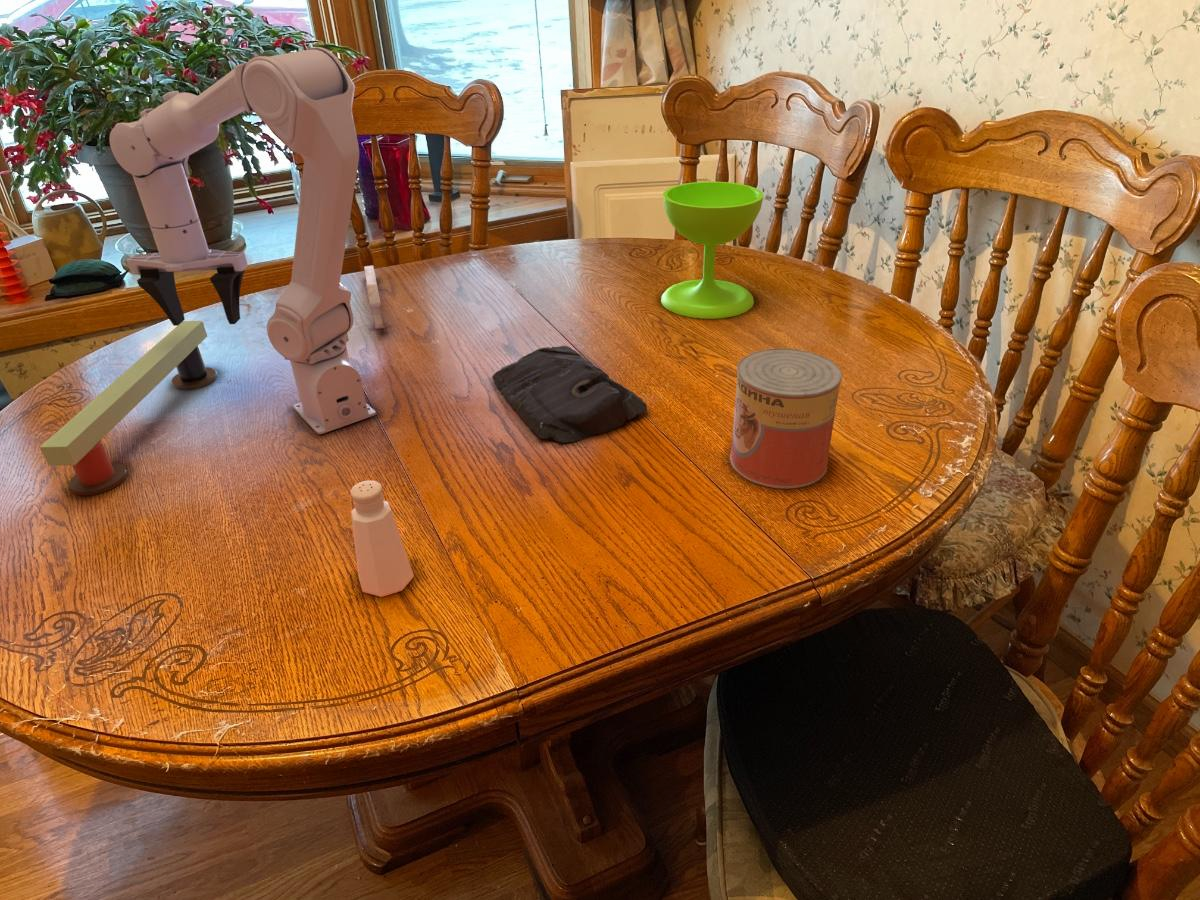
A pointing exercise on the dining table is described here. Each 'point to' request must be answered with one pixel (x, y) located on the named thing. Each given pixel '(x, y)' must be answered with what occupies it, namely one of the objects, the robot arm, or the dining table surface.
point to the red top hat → (96, 473)
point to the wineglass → (710, 244)
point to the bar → (122, 396)
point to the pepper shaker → (377, 542)
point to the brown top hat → (193, 372)
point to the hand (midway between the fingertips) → (207, 322)
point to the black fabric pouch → (565, 395)
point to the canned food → (784, 417)
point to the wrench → (374, 297)
